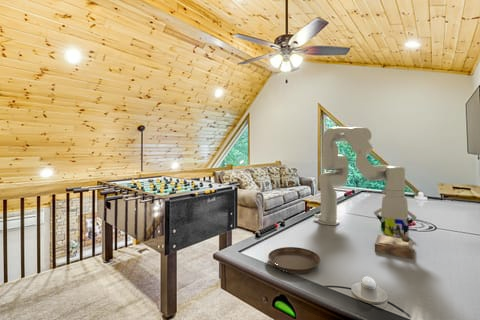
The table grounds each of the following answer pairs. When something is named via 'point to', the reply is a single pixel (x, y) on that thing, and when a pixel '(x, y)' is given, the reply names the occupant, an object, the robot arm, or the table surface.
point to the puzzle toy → (393, 223)
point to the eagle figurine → (398, 233)
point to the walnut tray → (394, 246)
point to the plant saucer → (294, 259)
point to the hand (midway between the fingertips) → (394, 231)
